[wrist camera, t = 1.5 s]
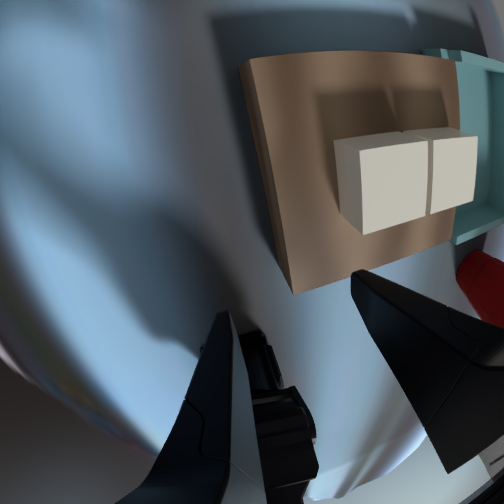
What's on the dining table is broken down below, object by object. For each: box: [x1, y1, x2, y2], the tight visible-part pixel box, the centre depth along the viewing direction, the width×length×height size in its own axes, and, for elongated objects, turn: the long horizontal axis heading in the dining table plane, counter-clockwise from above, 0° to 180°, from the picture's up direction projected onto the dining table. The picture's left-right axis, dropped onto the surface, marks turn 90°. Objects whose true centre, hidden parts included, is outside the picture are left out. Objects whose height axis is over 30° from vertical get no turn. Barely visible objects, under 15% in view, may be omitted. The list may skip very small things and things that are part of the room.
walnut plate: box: [238, 51, 460, 295], centre depth 19 cm, size 16×16×4 cm
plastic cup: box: [456, 250, 504, 328], centre depth 26 cm, size 11×11×12 cm
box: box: [421, 48, 504, 245], centre depth 19 cm, size 12×18×6 cm, turn 12°
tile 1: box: [403, 127, 478, 214], centre depth 16 cm, size 5×5×3 cm
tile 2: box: [333, 131, 428, 235], centre depth 16 cm, size 5×5×3 cm
